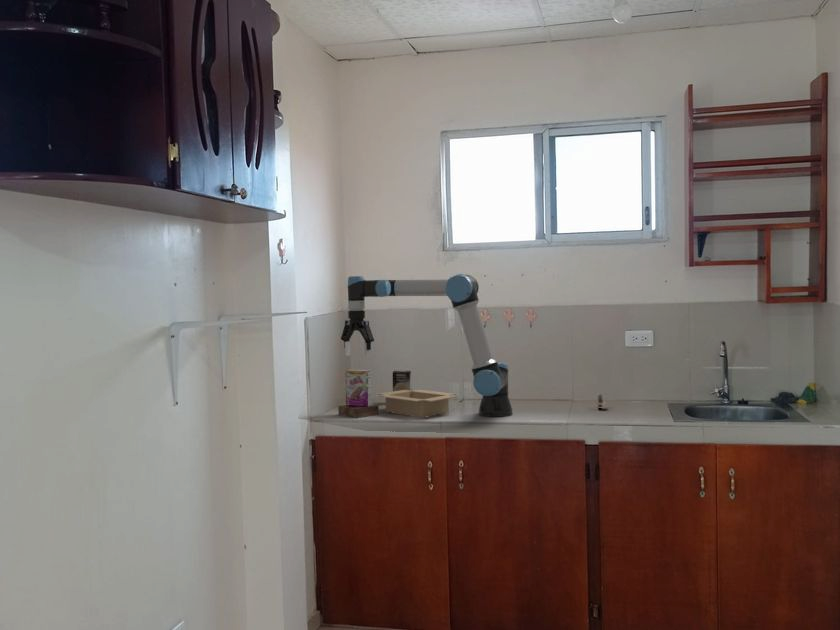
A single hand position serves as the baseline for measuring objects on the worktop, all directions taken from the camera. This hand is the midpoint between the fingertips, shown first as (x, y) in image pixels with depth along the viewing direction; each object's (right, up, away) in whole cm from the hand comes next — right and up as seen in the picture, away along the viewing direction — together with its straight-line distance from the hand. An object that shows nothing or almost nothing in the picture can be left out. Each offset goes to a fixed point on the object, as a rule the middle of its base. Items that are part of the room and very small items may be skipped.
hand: (357, 356), depth 345 cm
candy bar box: (+1, -23, +1) cm, 23 cm away
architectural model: (+112, -25, +4) cm, 115 cm away
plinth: (0, -27, +1) cm, 27 cm away
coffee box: (+20, -25, +31) cm, 45 cm away
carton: (+27, -26, +4) cm, 38 cm away
